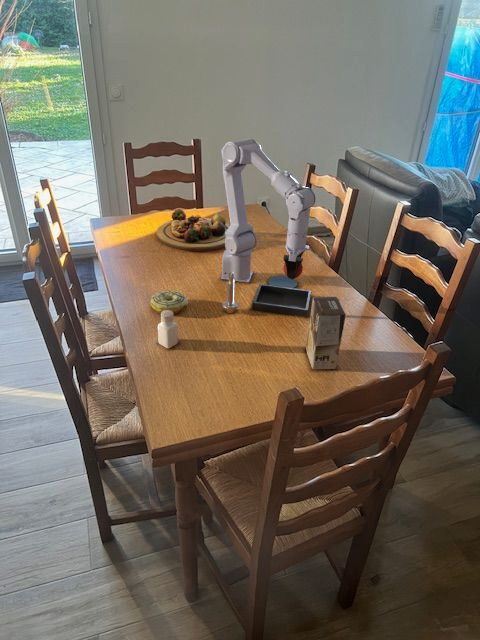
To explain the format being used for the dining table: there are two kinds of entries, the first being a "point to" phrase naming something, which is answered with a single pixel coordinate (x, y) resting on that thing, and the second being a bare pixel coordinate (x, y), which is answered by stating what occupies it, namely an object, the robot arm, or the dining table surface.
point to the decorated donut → (168, 301)
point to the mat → (282, 282)
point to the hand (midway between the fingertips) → (292, 273)
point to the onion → (297, 270)
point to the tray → (282, 300)
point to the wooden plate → (193, 232)
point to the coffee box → (325, 332)
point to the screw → (230, 296)
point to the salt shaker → (167, 330)
